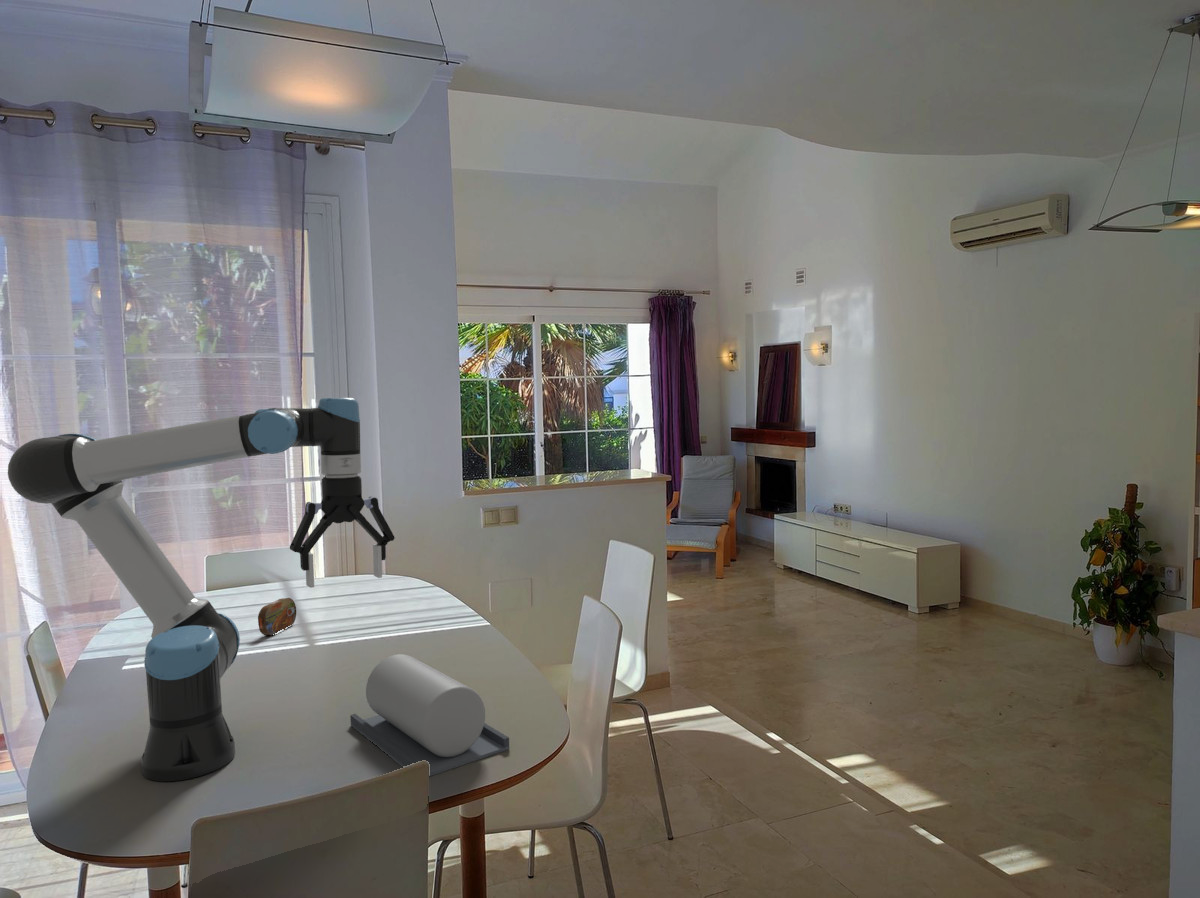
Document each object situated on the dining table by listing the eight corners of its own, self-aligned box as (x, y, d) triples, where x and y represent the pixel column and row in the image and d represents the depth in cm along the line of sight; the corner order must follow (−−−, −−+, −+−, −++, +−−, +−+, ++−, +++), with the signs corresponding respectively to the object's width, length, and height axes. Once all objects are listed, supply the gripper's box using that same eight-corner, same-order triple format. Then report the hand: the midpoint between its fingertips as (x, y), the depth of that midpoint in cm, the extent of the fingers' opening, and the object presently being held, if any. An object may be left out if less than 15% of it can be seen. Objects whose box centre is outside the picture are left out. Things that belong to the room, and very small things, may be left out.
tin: (267, 639, 224) (265, 608, 223) (256, 639, 224) (254, 608, 224) (298, 623, 238) (296, 594, 238) (288, 623, 239) (286, 594, 238)
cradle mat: (509, 749, 152) (508, 737, 152) (418, 780, 141) (417, 767, 141) (433, 702, 175) (433, 692, 175) (350, 725, 164) (350, 714, 164)
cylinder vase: (444, 678, 145) (384, 645, 165) (412, 748, 142) (354, 706, 162) (498, 699, 152) (434, 665, 172) (468, 766, 149) (407, 724, 169)
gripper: (281, 481, 155) (285, 594, 156) (408, 472, 169) (411, 576, 170) (270, 478, 161) (275, 586, 162) (394, 470, 175) (397, 569, 177)
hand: (344, 581), depth 166 cm, fingers open, 13 cm apart
